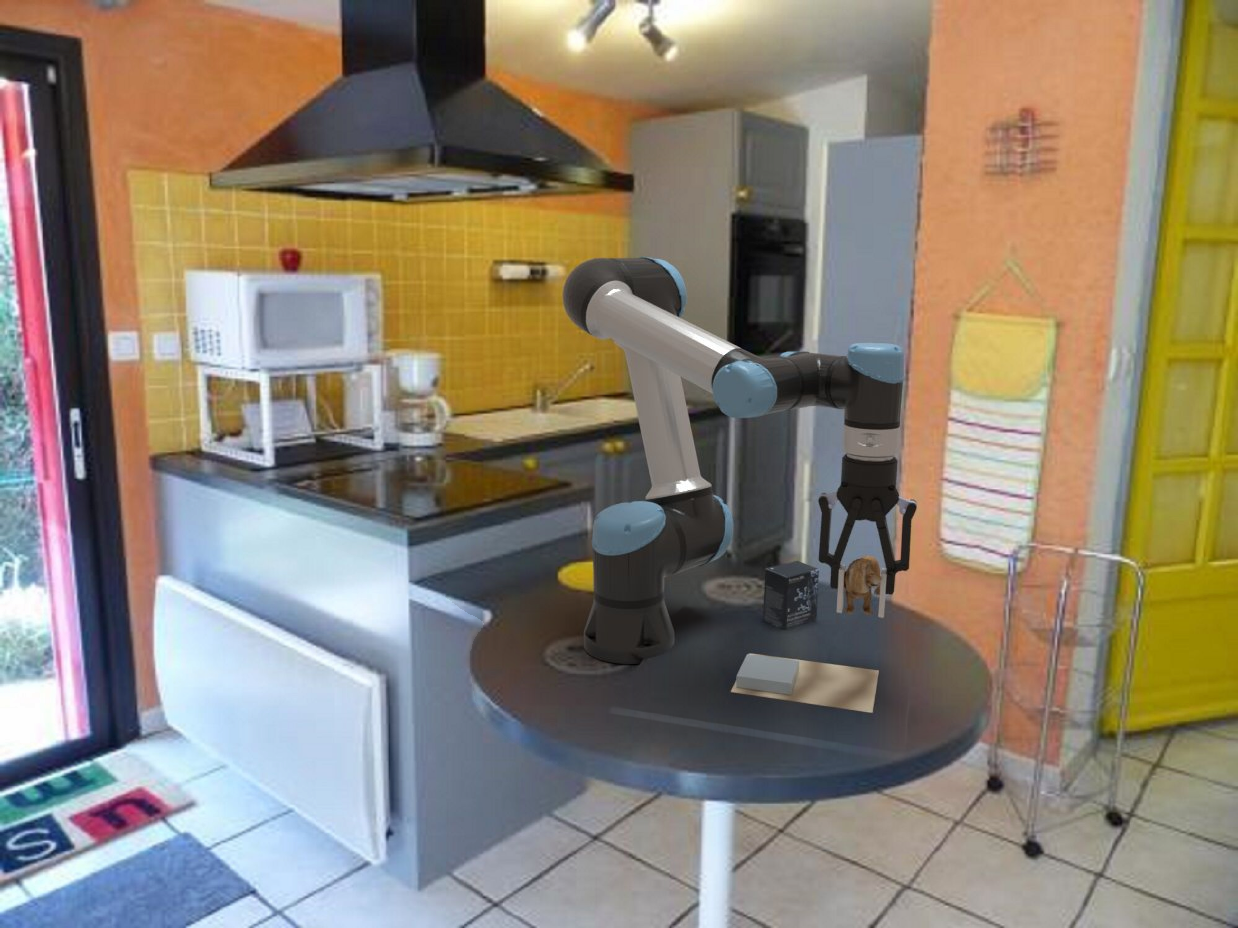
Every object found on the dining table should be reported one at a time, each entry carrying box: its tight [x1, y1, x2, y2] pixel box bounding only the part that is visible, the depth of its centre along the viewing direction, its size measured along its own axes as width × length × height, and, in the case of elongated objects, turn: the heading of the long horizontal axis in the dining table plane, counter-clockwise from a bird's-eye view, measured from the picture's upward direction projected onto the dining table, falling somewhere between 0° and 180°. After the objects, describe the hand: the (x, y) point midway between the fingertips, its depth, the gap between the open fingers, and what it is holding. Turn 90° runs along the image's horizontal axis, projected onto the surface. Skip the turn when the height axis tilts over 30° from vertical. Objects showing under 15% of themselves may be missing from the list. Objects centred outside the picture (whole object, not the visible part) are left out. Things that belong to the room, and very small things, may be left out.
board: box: [730, 653, 880, 714], centre depth 136 cm, size 20×14×1 cm
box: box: [762, 560, 820, 631], centre depth 158 cm, size 8×6×11 cm
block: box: [735, 653, 799, 695], centre depth 136 cm, size 8×2×8 cm
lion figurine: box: [844, 555, 882, 615], centre depth 134 cm, size 15×5×9 cm, turn 163°
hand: (860, 611), depth 132 cm, fingers closed on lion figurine, 5 cm apart
